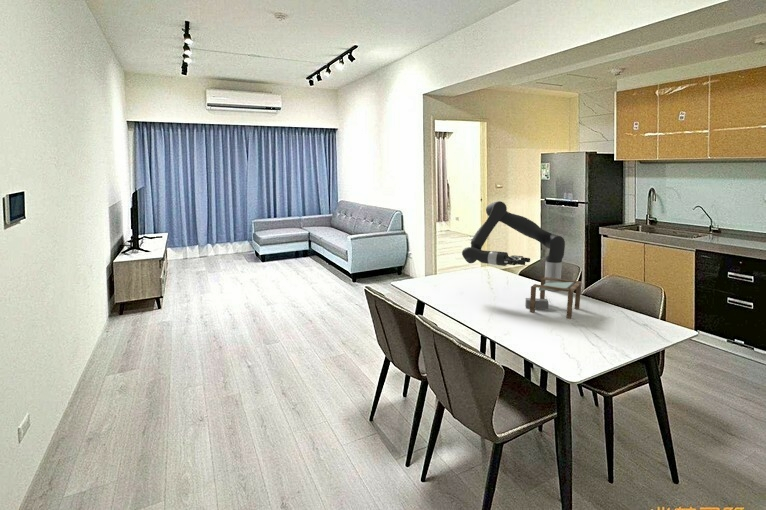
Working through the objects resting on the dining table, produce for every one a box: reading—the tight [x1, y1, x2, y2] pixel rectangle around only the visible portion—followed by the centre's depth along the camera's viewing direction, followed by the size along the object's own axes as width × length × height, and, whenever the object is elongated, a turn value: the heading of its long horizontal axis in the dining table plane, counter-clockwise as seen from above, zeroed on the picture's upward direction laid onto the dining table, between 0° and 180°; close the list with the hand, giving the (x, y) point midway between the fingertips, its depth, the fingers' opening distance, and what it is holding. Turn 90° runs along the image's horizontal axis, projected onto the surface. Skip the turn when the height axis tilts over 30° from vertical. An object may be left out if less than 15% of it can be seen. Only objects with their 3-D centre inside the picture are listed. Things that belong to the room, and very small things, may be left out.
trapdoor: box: [538, 282, 575, 291], centre depth 237 cm, size 14×15×1 cm
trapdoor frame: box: [529, 276, 582, 320], centre depth 238 cm, size 20×20×14 cm
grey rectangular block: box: [524, 297, 549, 310], centre depth 244 cm, size 4×4×11 cm
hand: (527, 261), depth 244 cm, fingers open, 8 cm apart
